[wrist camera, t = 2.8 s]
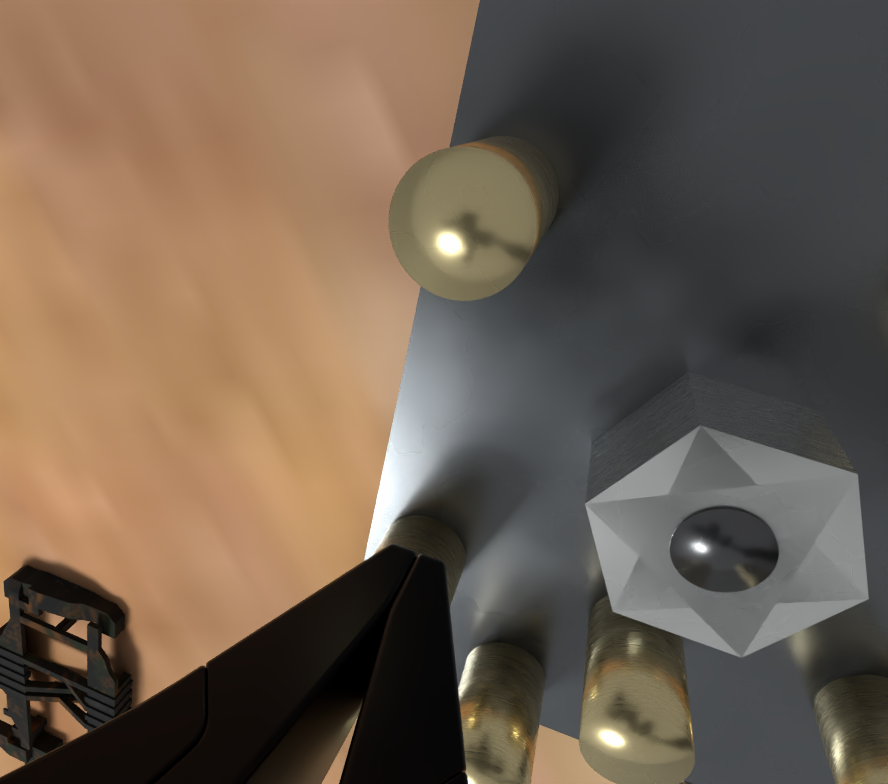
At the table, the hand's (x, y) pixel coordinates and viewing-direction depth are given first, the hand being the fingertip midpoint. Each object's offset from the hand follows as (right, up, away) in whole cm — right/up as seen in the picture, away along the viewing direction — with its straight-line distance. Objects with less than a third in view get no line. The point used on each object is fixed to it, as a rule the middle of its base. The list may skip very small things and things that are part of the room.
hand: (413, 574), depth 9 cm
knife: (-15, -14, +19) cm, 28 cm away
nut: (+6, +1, +4) cm, 7 cm away
